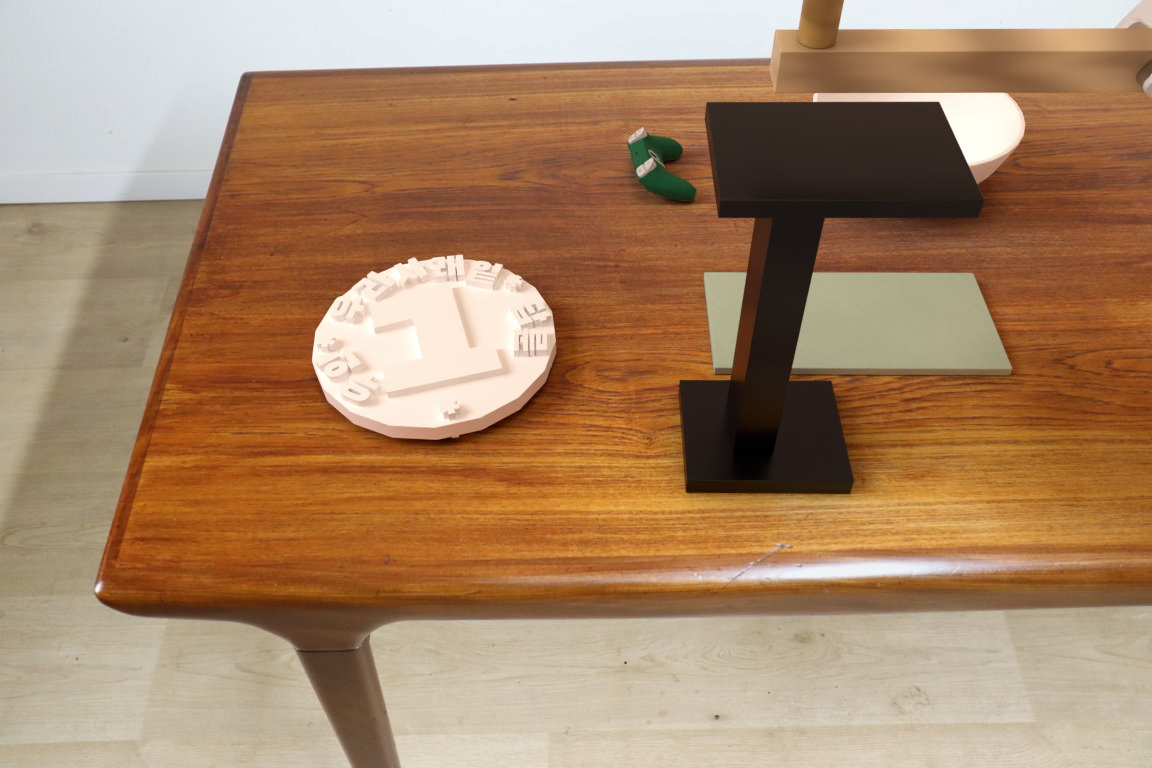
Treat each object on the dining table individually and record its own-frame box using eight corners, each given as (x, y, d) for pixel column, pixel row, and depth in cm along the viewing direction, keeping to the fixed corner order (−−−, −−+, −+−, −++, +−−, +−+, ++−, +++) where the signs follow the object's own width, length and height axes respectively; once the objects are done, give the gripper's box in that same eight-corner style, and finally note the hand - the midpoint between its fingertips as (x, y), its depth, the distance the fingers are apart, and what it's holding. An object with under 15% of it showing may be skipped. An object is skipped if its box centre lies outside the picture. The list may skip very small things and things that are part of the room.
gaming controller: (657, 168, 101) (618, 137, 97) (684, 144, 99) (645, 111, 96) (673, 221, 95) (632, 189, 91) (702, 196, 93) (660, 163, 89)
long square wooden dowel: (1196, 69, 51) (1247, -31, 47) (1216, 93, 50) (1269, -9, 46) (769, 70, 52) (783, -28, 48) (773, 93, 50) (789, -7, 46)
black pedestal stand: (853, 393, 76) (939, 101, 57) (877, 494, 69) (985, 200, 50) (678, 392, 76) (706, 101, 57) (685, 492, 69) (720, 200, 50)
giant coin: (288, 439, 73) (279, 414, 71) (348, 274, 87) (342, 249, 85) (545, 451, 72) (544, 426, 70) (565, 282, 86) (565, 257, 84)
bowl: (832, 113, 105) (847, 42, 98) (1015, 158, 98) (1042, 85, 92) (771, 208, 93) (784, 134, 87) (974, 266, 86) (1003, 190, 80)
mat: (970, 279, 85) (973, 272, 85) (1009, 375, 77) (1013, 369, 76) (703, 278, 86) (704, 271, 85) (713, 374, 78) (714, 367, 77)
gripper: (1265, 32, 59) (1115, -82, 54) (1471, 237, 45) (1292, 108, 40) (1175, 110, 63) (1028, 11, 58) (1338, 320, 49) (1161, 212, 44)
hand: (1137, 52), depth 49 cm, fingers closed on long square wooden dowel, 2 cm apart
